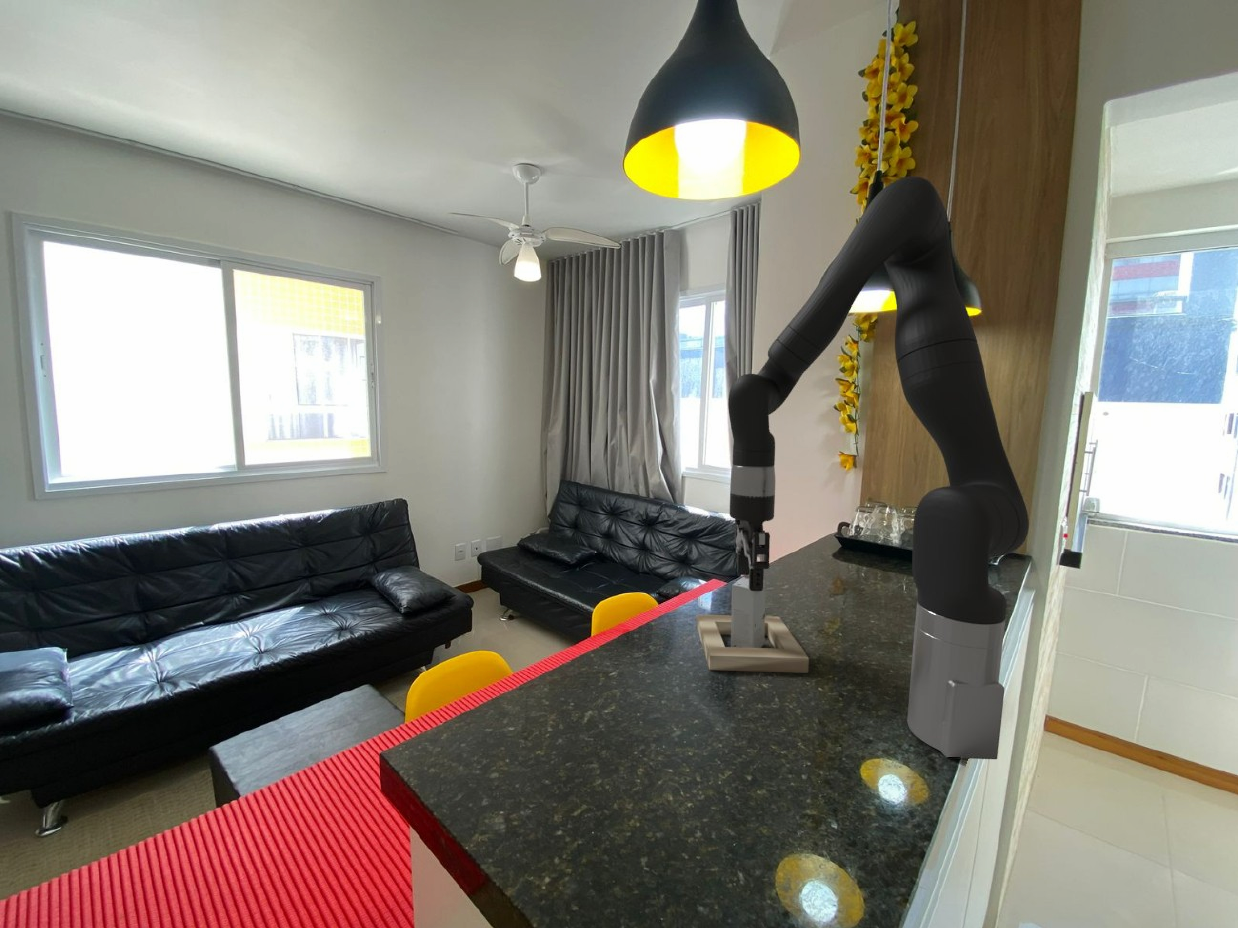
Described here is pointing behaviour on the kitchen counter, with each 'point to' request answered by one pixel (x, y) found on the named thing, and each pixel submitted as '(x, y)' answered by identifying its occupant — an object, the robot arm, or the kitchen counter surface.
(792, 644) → the socket block
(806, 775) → the kitchen counter surface
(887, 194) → the robot arm
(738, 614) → the skincare box
